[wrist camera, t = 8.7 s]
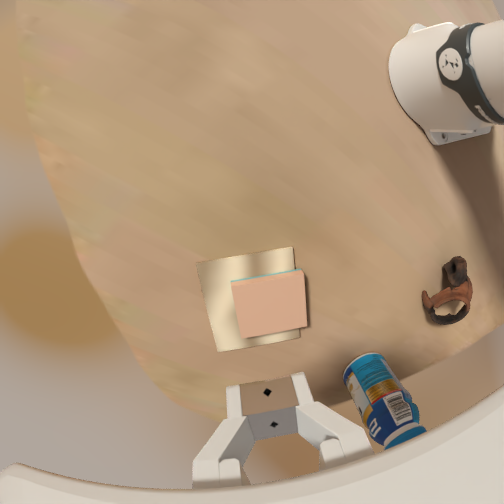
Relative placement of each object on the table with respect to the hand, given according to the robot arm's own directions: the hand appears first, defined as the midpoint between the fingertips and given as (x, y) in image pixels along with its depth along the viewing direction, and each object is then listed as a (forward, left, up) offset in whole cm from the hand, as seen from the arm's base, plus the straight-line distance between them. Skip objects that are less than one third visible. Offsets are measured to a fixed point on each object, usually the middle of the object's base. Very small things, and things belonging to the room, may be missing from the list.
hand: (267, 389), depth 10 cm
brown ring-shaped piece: (-33, +15, -26) cm, 44 cm away
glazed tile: (-7, +11, -25) cm, 28 cm away
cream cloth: (-1, +11, -26) cm, 28 cm away
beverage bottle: (-18, +29, -26) cm, 43 cm away
